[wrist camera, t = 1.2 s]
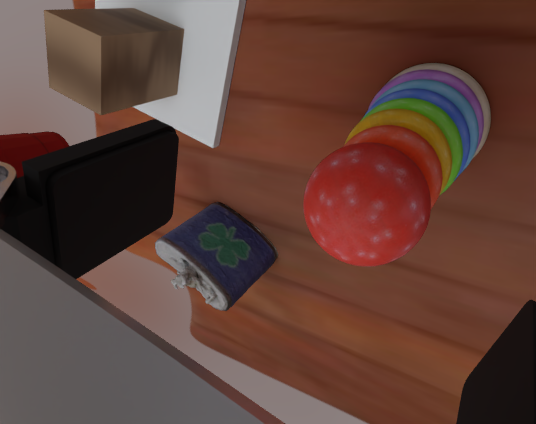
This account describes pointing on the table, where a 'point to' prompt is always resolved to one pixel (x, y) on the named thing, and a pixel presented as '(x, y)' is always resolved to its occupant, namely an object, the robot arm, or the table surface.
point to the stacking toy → (396, 164)
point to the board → (196, 62)
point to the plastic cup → (28, 147)
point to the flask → (217, 254)
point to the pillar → (112, 57)
